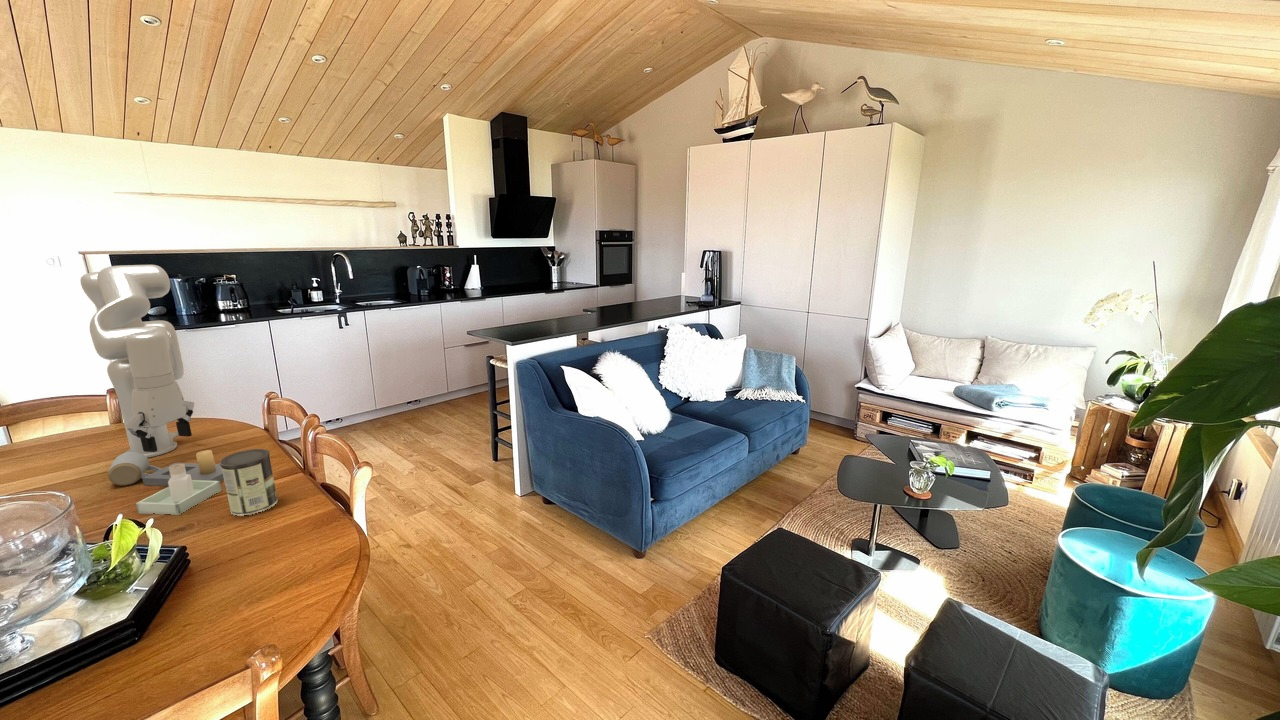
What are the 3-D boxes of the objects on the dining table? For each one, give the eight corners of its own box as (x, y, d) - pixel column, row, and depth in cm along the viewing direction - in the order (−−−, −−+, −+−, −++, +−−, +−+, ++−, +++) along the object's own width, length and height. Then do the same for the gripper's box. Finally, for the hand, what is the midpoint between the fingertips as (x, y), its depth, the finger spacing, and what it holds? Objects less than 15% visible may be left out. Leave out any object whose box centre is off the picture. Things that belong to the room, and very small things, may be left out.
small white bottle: (191, 500, 138) (184, 467, 136) (171, 503, 137) (164, 470, 134) (195, 493, 142) (188, 461, 140) (176, 497, 140) (169, 464, 138)
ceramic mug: (109, 490, 145) (103, 464, 143) (116, 478, 152) (111, 454, 150) (159, 481, 151) (154, 456, 149) (165, 470, 157) (160, 446, 155)
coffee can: (259, 494, 143) (251, 446, 140) (287, 500, 140) (278, 451, 137) (219, 512, 134) (209, 461, 131) (248, 519, 131) (238, 468, 127)
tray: (184, 489, 146) (182, 479, 145) (221, 490, 145) (219, 480, 144) (138, 513, 133) (135, 503, 132) (179, 515, 132) (176, 504, 132)
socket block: (176, 469, 158) (170, 444, 156) (239, 471, 156) (234, 446, 155) (144, 485, 148) (137, 458, 146) (211, 487, 147) (205, 460, 145)
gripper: (172, 370, 140) (184, 430, 144) (104, 390, 123) (121, 457, 127) (199, 371, 139) (210, 431, 144) (134, 392, 123) (150, 458, 127)
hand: (168, 443), depth 135 cm, fingers open, 9 cm apart
